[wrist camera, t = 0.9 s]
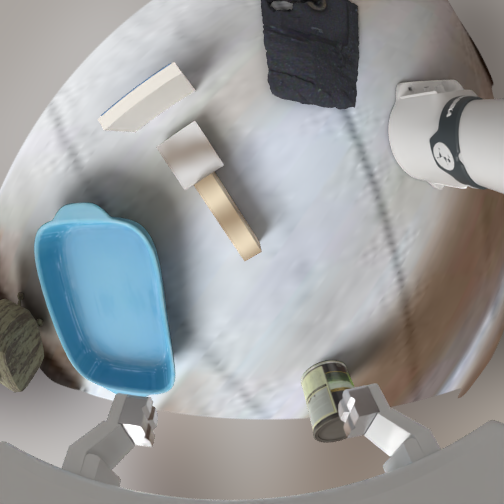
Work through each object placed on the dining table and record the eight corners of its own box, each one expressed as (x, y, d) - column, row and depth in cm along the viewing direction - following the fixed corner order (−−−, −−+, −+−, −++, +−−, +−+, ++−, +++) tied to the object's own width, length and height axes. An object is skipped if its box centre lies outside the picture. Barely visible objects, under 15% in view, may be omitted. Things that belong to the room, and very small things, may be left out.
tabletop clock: (16, 283, 40) (-54, 354, 17) (45, 296, 41) (-25, 379, 18) (27, 335, 45) (-23, 406, 22) (55, 348, 46) (7, 428, 23)
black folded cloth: (251, 100, 33) (253, 94, 28) (260, -20, 24) (263, -35, 20) (356, 115, 34) (371, 113, 29) (356, -1, 26) (368, -13, 21)
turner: (269, 235, 40) (272, 245, 36) (234, 256, 41) (233, 267, 37) (197, 122, 33) (192, 119, 29) (161, 146, 34) (152, 147, 30)
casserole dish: (46, 198, 35) (21, 209, 28) (167, 189, 36) (152, 199, 30) (92, 366, 49) (81, 388, 42) (188, 377, 50) (184, 404, 44)
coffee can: (344, 353, 50) (368, 406, 37) (348, 382, 53) (368, 430, 40) (295, 369, 50) (309, 426, 37) (305, 396, 54) (317, 447, 41)
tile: (129, 122, 32) (96, 117, 23) (188, 80, 31) (172, 60, 21) (135, 132, 33) (104, 130, 23) (195, 91, 31) (181, 72, 22)
